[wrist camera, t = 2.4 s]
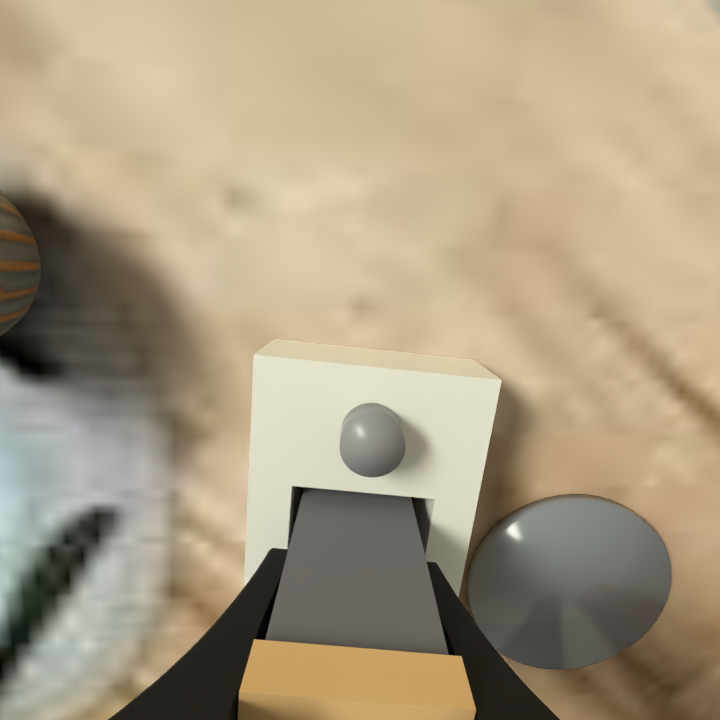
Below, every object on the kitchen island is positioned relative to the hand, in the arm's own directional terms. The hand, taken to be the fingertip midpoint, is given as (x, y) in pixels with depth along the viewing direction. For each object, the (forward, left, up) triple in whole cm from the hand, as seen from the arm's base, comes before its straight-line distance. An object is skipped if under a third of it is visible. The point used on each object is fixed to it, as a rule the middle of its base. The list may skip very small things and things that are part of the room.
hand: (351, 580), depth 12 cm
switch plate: (0, 0, -4) cm, 4 cm away
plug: (0, 0, -4) cm, 4 cm away
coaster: (-3, -10, -4) cm, 11 cm away
